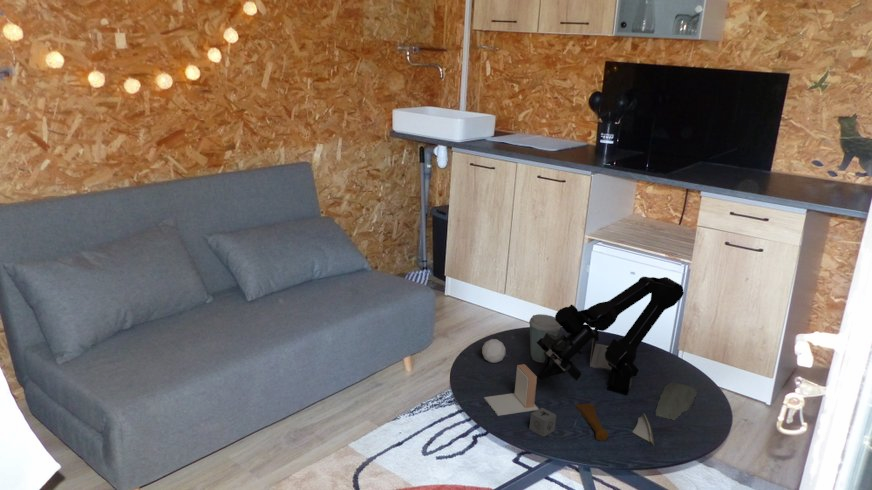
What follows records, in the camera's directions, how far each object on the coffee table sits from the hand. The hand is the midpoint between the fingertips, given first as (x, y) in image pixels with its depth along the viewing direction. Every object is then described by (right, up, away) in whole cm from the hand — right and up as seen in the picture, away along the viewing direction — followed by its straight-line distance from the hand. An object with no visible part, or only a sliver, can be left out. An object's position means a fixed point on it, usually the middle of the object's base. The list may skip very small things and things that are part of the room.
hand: (538, 378), depth 207 cm
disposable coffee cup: (+5, +1, +29) cm, 29 cm away
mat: (-8, -7, -1) cm, 11 cm away
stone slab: (+43, -9, +5) cm, 44 cm away
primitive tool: (+14, -11, -7) cm, 19 cm away
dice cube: (-1, -12, -13) cm, 18 cm away
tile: (-4, -7, +1) cm, 8 cm away
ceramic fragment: (+28, -13, -11) cm, 33 cm away
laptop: (+29, 0, +32) cm, 43 cm away
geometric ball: (-11, +1, +25) cm, 28 cm away
